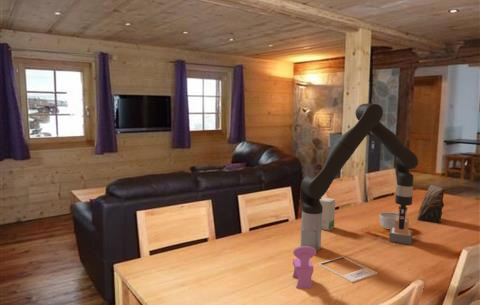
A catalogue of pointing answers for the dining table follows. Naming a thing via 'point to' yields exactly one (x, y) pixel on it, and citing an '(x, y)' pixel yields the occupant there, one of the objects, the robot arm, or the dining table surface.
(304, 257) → the purple figurine
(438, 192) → the dark rock
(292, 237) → the dining table surface
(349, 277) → the photo frame
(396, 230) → the cube
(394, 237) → the block
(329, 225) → the skincare box
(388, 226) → the ramekin
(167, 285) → the dining table surface
